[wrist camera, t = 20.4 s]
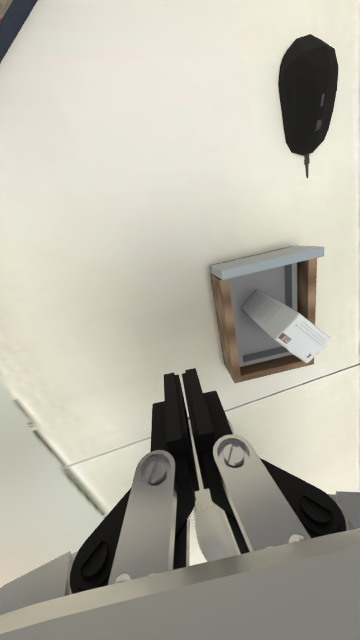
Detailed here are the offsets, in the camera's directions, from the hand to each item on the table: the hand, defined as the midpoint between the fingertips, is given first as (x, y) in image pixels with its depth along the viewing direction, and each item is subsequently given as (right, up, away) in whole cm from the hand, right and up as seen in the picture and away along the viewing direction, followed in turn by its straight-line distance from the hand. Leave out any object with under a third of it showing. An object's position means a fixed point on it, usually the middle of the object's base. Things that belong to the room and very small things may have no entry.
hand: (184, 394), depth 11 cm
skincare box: (+13, +6, +25) cm, 29 cm away
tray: (+13, +6, +26) cm, 29 cm away
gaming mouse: (+17, +32, +18) cm, 40 cm away
